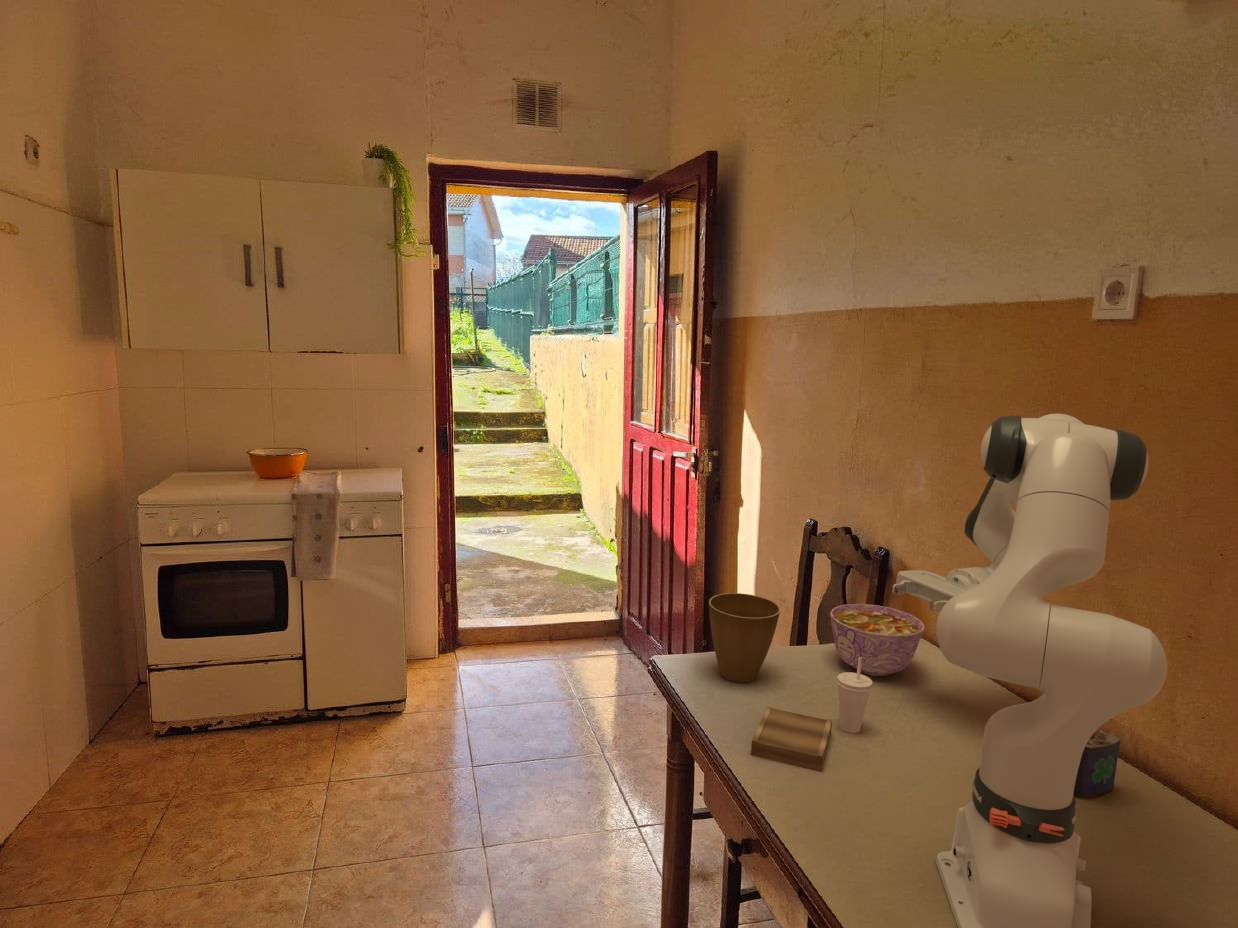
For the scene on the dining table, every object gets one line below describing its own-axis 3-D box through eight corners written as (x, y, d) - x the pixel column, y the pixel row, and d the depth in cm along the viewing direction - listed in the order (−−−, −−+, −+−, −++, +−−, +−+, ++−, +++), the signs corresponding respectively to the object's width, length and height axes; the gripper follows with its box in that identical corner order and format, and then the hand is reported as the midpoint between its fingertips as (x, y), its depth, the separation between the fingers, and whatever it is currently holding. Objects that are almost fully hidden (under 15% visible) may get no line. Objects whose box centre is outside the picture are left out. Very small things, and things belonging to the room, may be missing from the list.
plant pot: (693, 680, 163) (698, 607, 160) (718, 656, 176) (723, 588, 173) (762, 697, 156) (768, 622, 153) (782, 671, 169) (788, 601, 166)
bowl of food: (822, 677, 167) (827, 626, 165) (828, 644, 186) (832, 598, 184) (921, 695, 161) (927, 642, 159) (917, 659, 180) (922, 611, 178)
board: (821, 771, 130) (823, 756, 129) (750, 754, 134) (751, 739, 134) (831, 733, 143) (832, 719, 142) (765, 719, 147) (767, 706, 146)
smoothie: (867, 739, 141) (874, 666, 139) (831, 731, 143) (838, 660, 141) (868, 723, 147) (875, 653, 145) (833, 716, 149) (840, 647, 147)
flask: (1102, 781, 131) (1111, 722, 129) (1119, 790, 128) (1129, 730, 127) (1065, 792, 127) (1074, 731, 125) (1082, 802, 125) (1092, 740, 123)
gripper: (928, 560, 161) (876, 565, 155) (1013, 591, 142) (957, 599, 137) (925, 589, 162) (873, 595, 156) (1008, 624, 143) (953, 632, 138)
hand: (913, 597), depth 146 cm, fingers open, 8 cm apart
